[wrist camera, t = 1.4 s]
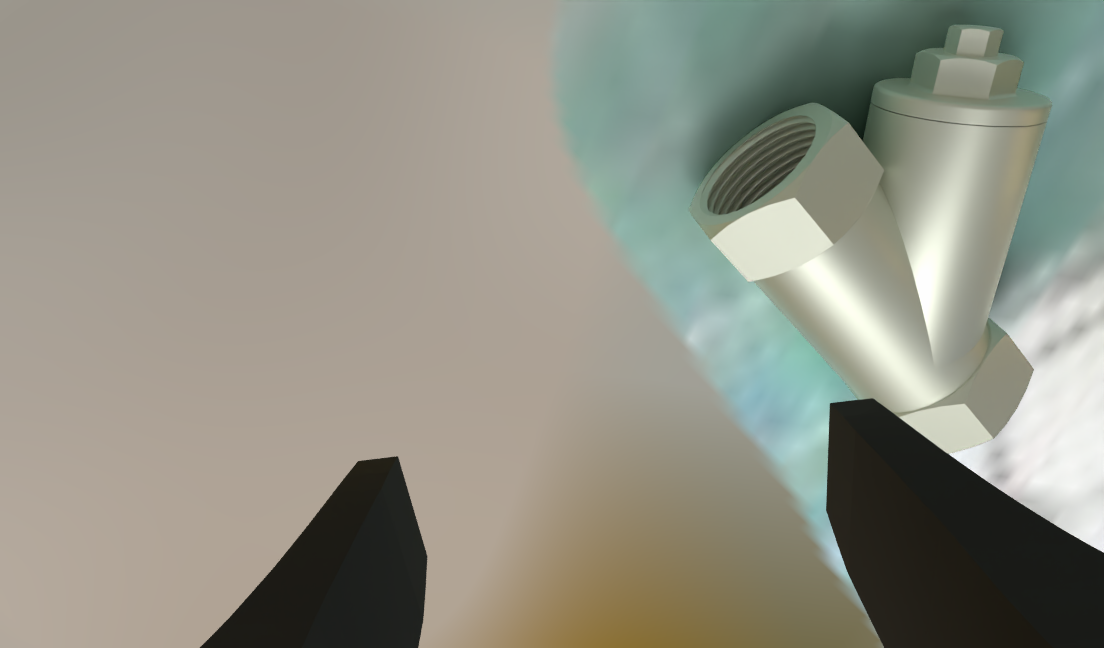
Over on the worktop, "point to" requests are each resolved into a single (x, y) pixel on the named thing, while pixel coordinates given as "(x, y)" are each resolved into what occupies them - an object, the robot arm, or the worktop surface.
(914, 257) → the pipe fitting
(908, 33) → the worktop surface
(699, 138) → the worktop surface
